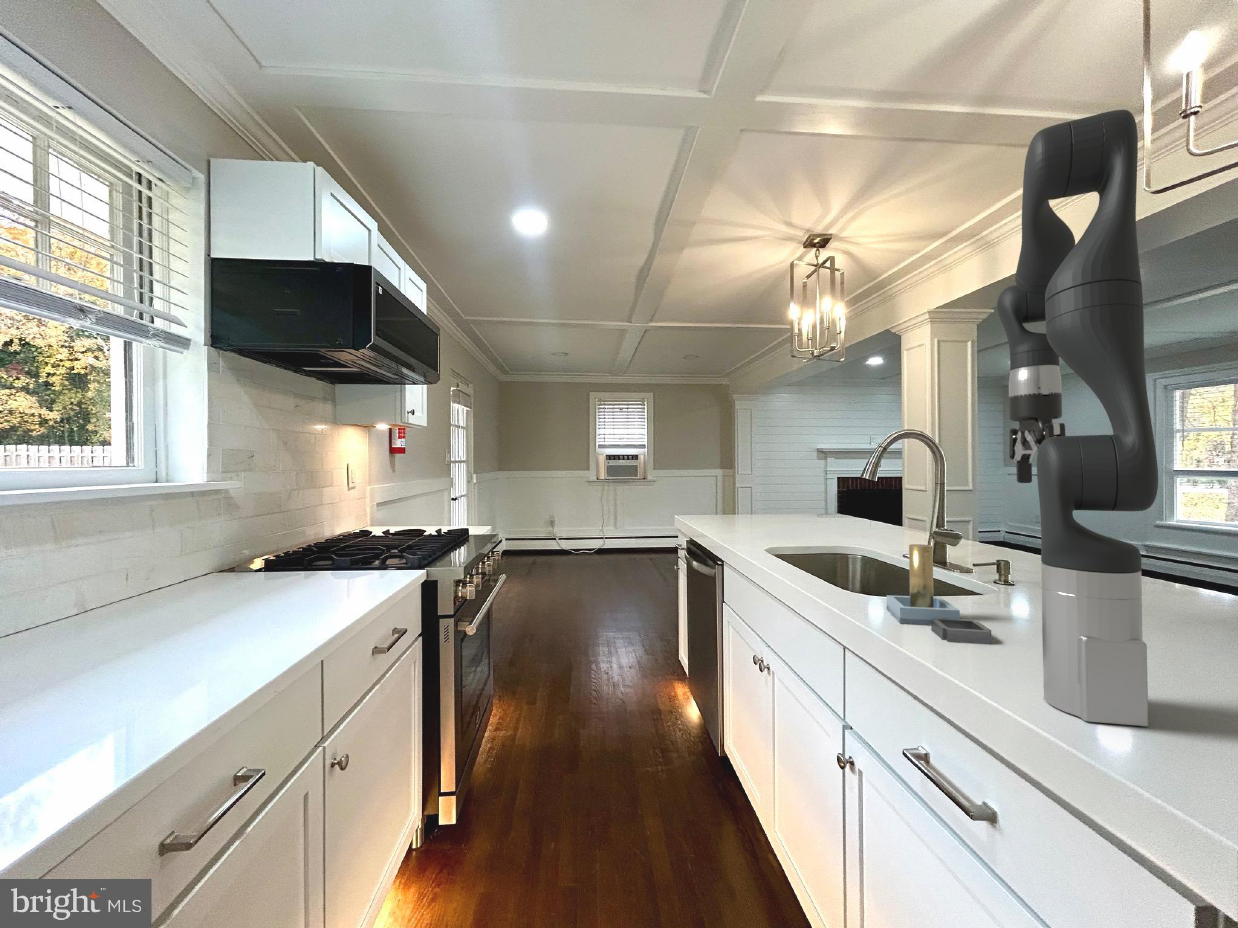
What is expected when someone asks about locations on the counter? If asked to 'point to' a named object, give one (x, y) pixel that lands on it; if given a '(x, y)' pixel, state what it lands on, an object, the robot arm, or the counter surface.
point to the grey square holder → (961, 630)
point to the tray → (919, 610)
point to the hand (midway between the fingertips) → (1036, 483)
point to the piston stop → (921, 575)
